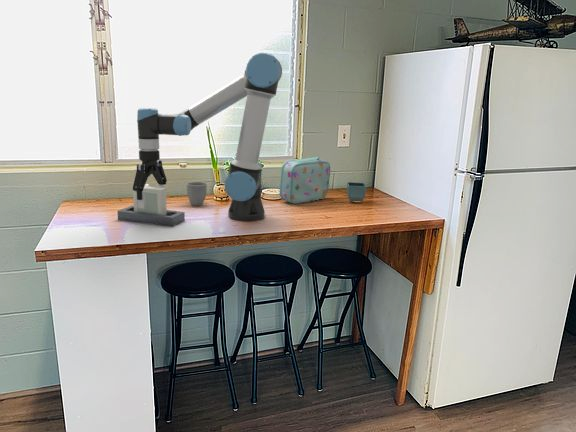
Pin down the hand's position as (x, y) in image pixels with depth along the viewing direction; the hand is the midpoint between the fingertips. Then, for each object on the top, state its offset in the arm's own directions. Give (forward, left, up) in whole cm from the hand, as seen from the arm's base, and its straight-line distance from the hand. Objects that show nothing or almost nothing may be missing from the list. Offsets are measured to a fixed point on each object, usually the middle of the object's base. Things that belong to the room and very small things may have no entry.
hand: (151, 204), depth 184 cm
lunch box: (-47, -60, -7) cm, 77 cm away
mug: (-3, -32, -7) cm, 33 cm away
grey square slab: (+1, 0, -5) cm, 6 cm away
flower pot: (-71, -69, -7) cm, 99 cm away
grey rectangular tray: (0, 0, -6) cm, 7 cm away
